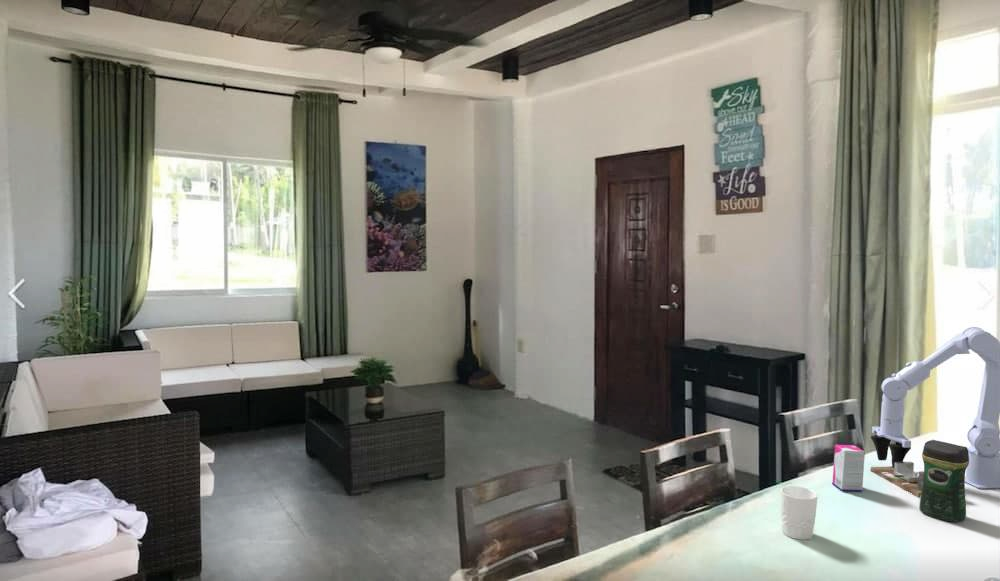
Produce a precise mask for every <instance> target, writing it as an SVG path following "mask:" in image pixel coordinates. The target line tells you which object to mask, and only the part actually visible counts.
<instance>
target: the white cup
mask: <svg viewBox="0 0 1000 581" xmlns="http://www.w3.org/2000/svg"><path fill="white" fill-rule="evenodd" d="M818 496H819V495H818V493H817V492H816V491H814V490H812V489H811V488H807V487H804V486H803V487H802V486H794V485H793V486H792V485H789V486H788V485H787V486H784V487H781V488H780V520H781V532H782V534H784V536H787V537H788V538H792V539H795V540H802V541H804V540H810V539H812V538H813V536H814V528H815V523H816V516H817V508H818V507H817V506H818Z"/></svg>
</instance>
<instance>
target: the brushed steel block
mask: <svg viewBox="0 0 1000 581" xmlns="http://www.w3.org/2000/svg"><path fill="white" fill-rule="evenodd" d="M914 467H915V463H914V462H913V461H903V462H895V465H894V477H900V478H902V479H904V480H906V481H907V482H918V475H919V472H920V471H918V472H917V471H914V470H915V468H914Z"/></svg>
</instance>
